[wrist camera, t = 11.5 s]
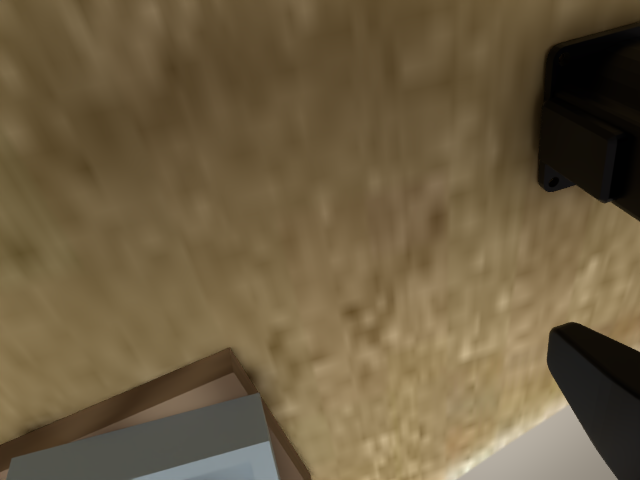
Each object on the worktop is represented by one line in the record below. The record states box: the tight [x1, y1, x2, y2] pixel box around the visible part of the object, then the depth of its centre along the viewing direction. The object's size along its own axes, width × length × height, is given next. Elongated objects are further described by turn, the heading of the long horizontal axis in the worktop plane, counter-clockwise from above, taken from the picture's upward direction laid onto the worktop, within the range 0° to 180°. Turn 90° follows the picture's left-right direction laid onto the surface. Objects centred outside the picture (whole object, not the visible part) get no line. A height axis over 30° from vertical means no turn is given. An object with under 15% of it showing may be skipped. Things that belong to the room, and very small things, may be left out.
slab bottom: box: [0, 348, 311, 480], centre depth 28 cm, size 12×12×2 cm
